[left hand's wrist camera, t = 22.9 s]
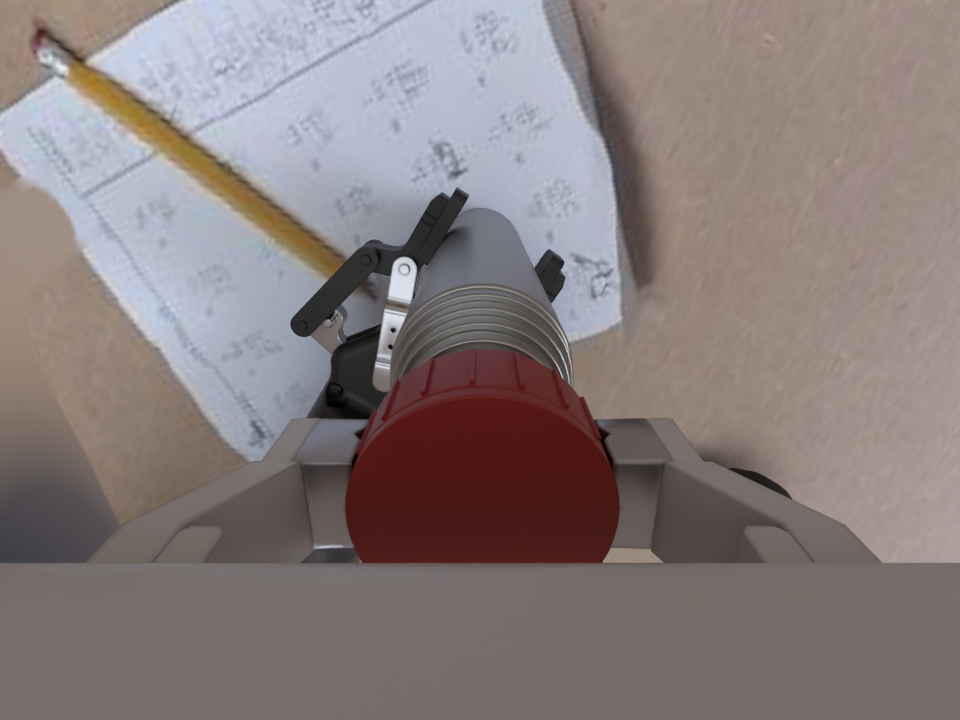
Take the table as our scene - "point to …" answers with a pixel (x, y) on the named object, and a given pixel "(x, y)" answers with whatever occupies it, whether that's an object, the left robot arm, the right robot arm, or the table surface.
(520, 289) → the bottle
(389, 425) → the cap
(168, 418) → the table surface
